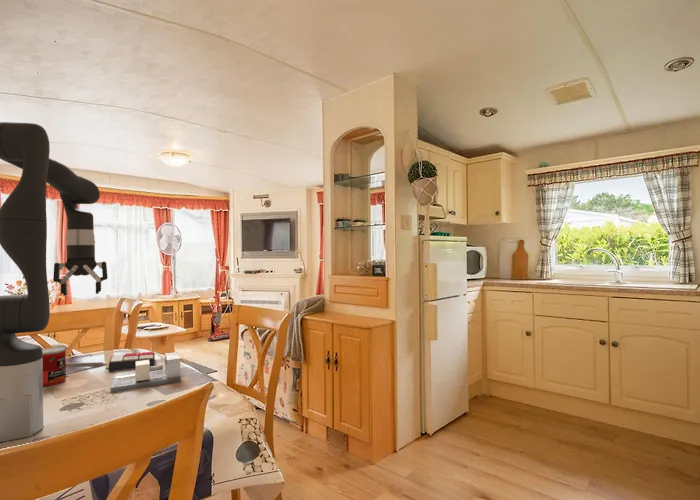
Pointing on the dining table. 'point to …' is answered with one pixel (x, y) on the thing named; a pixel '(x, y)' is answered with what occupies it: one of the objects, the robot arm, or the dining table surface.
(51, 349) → the canned food
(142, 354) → the calculator
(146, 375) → the block
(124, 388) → the gauge base
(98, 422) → the dining table surface
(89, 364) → the caliper
